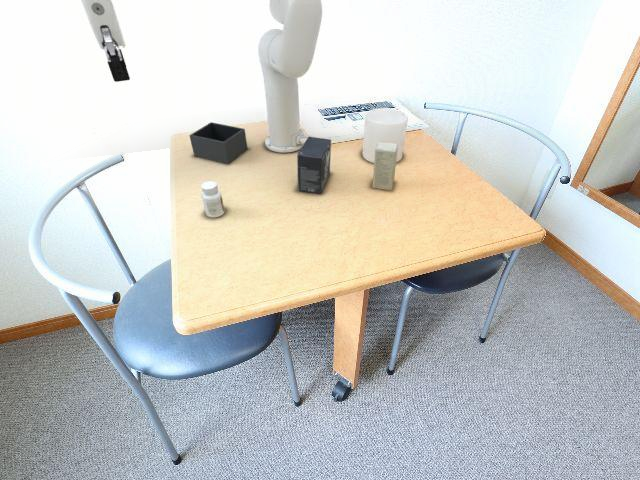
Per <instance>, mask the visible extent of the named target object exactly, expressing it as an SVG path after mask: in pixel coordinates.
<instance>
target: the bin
mask: <svg viewBox="0 0 640 480" xmlns="http://www.w3.org/2000/svg"><path fill="white" fill-rule="evenodd" d="M189 140H190V144H191V148H192V153H193V155H194V157H195V158H196V157H197V158H201V159H205V160H209V161H212V162H218V163H222V164H226V165H229V164H231V163H232V162H234V160H236V159H237V158H239V157H240V156H241V155H242V154H244V153H245V152H246V151H247V150H248V149H249V147H248V142H247V135H246V129H245V128H242V127H238V126H237V127H236V126H232V125H228V124H221V123H216V122H212V121H211V122H208V123H207V124H205V125H204V126H202V127H201V128H199V129H197V130H196V131H194V132H192V133H191V134H189Z"/></svg>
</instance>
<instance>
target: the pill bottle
mask: <svg viewBox="0 0 640 480" xmlns="http://www.w3.org/2000/svg"><path fill="white" fill-rule="evenodd" d="M201 192H202V193H201V199H202V203H203V208H204V212H205V215H206V216H207V217H209V218H218V217H221V216H222V215H224V214H225V205H224V201H223V196H222V191H220V190H219V187H218V183H217V182H216V181H213V180H209V181H205V182H203V183H202V184H201Z"/></svg>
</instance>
